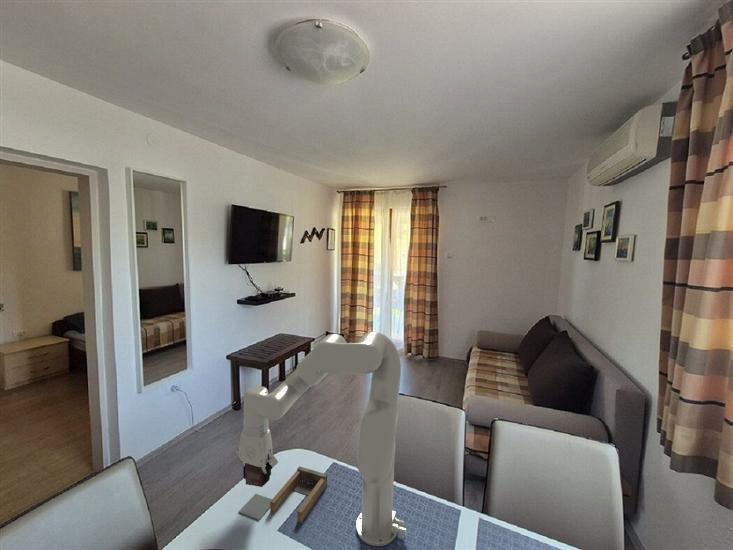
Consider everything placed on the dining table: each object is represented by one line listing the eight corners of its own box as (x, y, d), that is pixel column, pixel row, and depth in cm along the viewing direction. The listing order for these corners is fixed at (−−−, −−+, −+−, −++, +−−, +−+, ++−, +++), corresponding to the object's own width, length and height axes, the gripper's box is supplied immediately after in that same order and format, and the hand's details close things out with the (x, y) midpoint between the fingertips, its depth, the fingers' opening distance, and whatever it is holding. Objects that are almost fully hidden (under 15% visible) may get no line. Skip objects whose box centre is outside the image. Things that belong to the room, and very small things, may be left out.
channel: (327, 484, 112) (327, 474, 112) (301, 523, 96) (301, 511, 96) (299, 476, 116) (299, 466, 116) (270, 511, 100) (270, 500, 100)
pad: (275, 501, 104) (275, 500, 104) (259, 520, 97) (259, 519, 97) (255, 494, 107) (255, 493, 107) (238, 512, 100) (238, 511, 100)
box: (271, 474, 105) (271, 454, 104) (262, 488, 99) (261, 466, 98) (255, 471, 106) (255, 451, 105) (244, 484, 100) (244, 463, 100)
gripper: (226, 426, 99) (226, 479, 101) (271, 439, 93) (271, 495, 95) (243, 415, 106) (243, 465, 108) (286, 426, 100) (285, 478, 102)
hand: (256, 478), depth 101 cm, fingers closed on box, 6 cm apart
